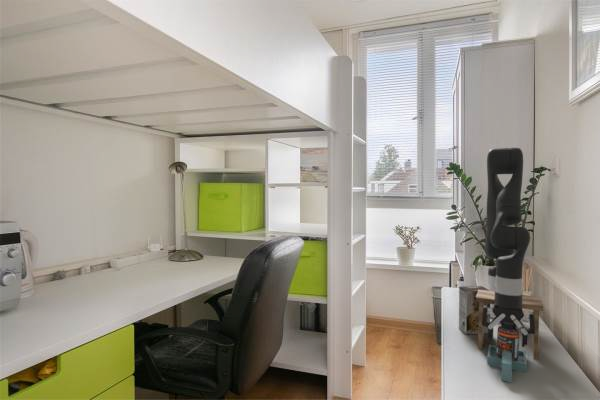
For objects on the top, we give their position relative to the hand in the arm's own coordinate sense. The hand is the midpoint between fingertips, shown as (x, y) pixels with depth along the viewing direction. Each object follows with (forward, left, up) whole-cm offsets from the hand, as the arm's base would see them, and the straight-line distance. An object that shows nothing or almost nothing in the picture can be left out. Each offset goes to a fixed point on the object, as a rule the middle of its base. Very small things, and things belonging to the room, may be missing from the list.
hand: (507, 343), depth 117 cm
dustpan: (+5, 0, -6) cm, 7 cm away
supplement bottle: (0, 0, -5) cm, 5 cm away
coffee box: (-22, -11, -6) cm, 25 cm away
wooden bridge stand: (-11, 0, -6) cm, 13 cm away
